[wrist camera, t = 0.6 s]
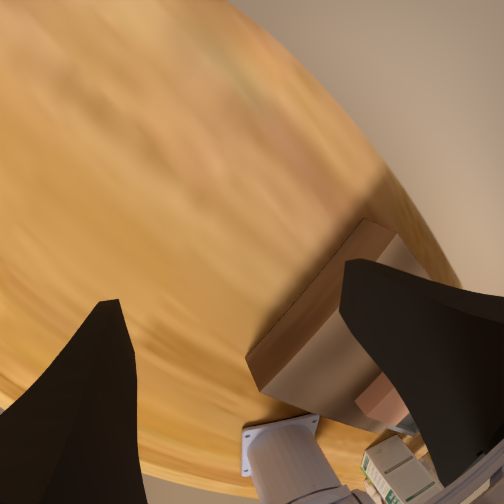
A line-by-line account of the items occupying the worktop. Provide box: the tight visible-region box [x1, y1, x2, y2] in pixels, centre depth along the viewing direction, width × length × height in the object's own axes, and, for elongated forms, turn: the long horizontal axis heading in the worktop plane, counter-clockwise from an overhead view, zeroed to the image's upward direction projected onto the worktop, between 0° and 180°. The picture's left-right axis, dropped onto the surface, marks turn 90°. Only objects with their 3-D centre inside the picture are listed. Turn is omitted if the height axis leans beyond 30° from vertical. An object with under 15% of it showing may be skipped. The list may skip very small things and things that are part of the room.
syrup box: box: [361, 435, 443, 504], centre depth 31 cm, size 6×6×14 cm
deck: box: [245, 218, 432, 434], centre depth 25 cm, size 18×14×4 cm
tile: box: [355, 372, 409, 426], centre depth 24 cm, size 6×9×2 cm, turn 139°
